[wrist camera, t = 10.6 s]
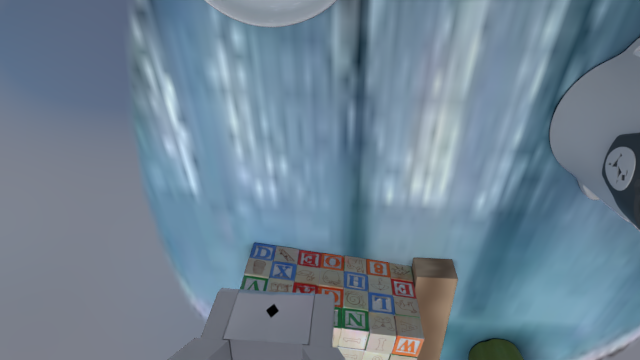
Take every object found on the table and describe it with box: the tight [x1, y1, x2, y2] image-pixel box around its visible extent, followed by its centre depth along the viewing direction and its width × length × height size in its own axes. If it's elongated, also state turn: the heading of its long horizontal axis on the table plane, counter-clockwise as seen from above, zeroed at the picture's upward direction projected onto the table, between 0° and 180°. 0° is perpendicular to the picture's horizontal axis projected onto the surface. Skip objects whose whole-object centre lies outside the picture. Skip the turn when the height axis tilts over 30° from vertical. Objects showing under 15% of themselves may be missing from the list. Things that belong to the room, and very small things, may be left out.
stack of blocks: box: [240, 243, 424, 360], centre depth 54 cm, size 21×6×12 cm, turn 82°
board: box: [411, 258, 458, 360], centre depth 60 cm, size 5×20×4 cm, turn 179°
